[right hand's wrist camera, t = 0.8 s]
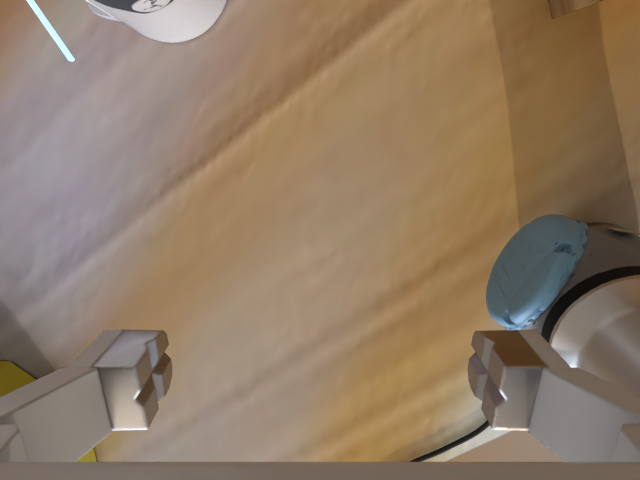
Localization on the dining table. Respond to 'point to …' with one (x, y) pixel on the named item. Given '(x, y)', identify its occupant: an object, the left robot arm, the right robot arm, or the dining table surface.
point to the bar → (568, 6)
